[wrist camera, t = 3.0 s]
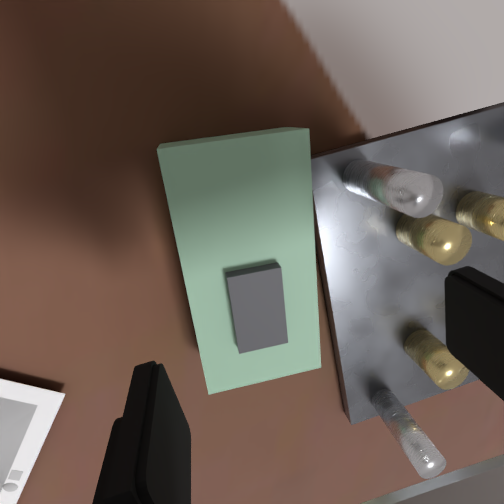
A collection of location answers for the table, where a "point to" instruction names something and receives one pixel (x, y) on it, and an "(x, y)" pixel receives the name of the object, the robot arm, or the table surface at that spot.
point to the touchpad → (22, 432)
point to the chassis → (406, 260)
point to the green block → (247, 251)
